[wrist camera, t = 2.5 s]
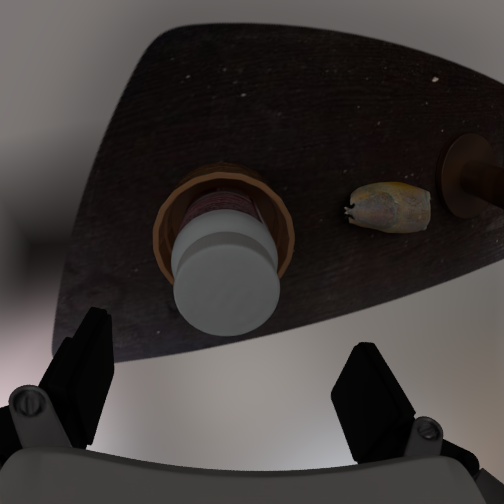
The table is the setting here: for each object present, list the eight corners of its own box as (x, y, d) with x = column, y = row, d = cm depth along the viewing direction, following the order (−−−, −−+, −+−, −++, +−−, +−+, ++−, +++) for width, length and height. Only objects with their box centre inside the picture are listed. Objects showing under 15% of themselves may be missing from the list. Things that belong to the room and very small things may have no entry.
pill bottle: (169, 213, 24) (134, 282, 14) (232, 167, 23) (241, 205, 13) (215, 269, 27) (214, 362, 16) (275, 229, 26) (312, 304, 15)
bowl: (144, 226, 25) (126, 252, 20) (217, 137, 23) (215, 141, 18) (228, 289, 28) (231, 326, 23) (302, 213, 26) (322, 236, 21)
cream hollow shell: (344, 240, 28) (347, 239, 23) (338, 191, 28) (340, 181, 23) (426, 231, 26) (442, 228, 21) (419, 183, 26) (434, 172, 21)
